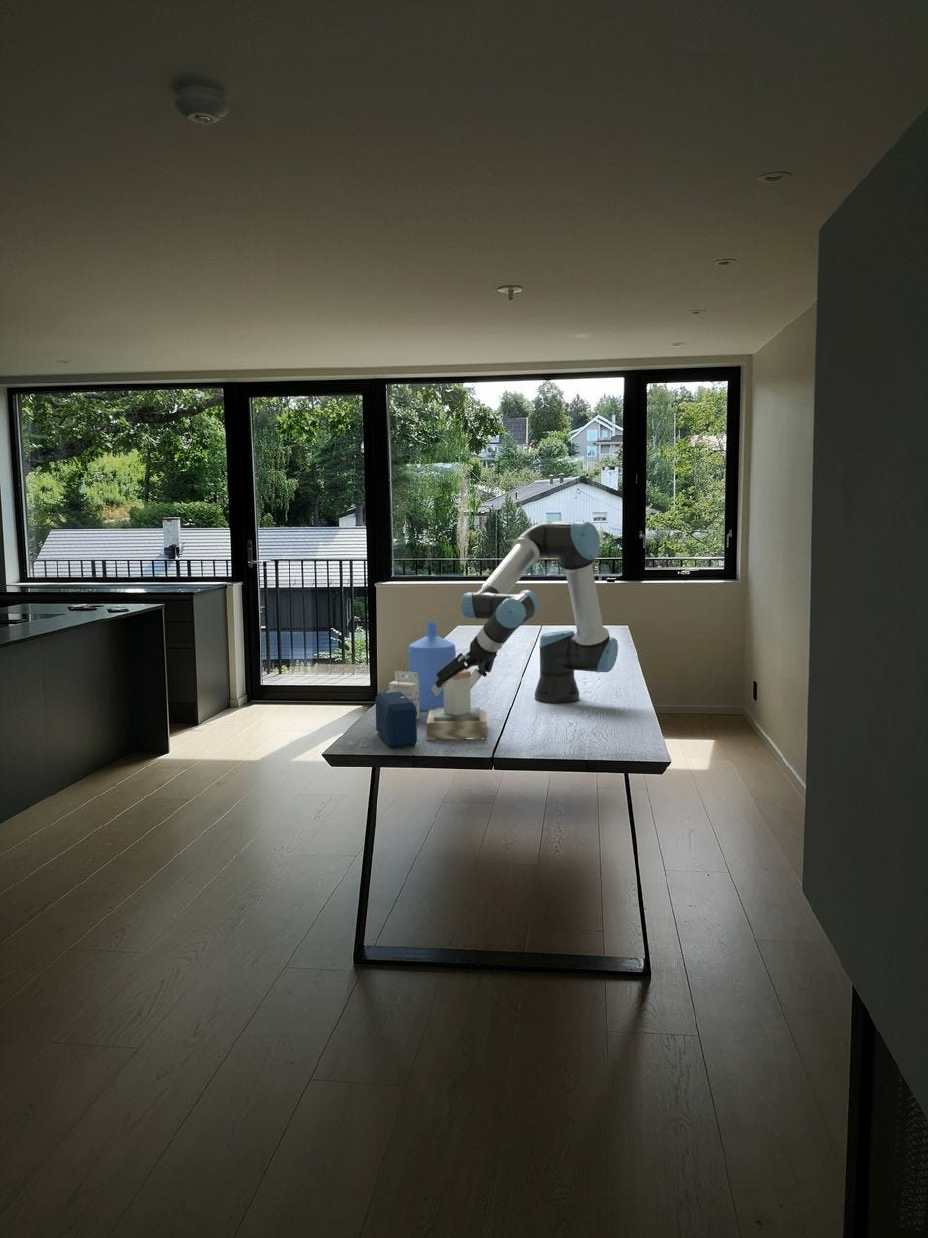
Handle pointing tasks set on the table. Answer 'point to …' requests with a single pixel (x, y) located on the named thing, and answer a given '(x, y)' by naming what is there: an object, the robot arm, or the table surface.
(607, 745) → the table surface
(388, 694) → the radio
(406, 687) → the ink cartridge box
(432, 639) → the water jug
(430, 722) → the birch tray
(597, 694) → the table surface
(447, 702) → the plate
